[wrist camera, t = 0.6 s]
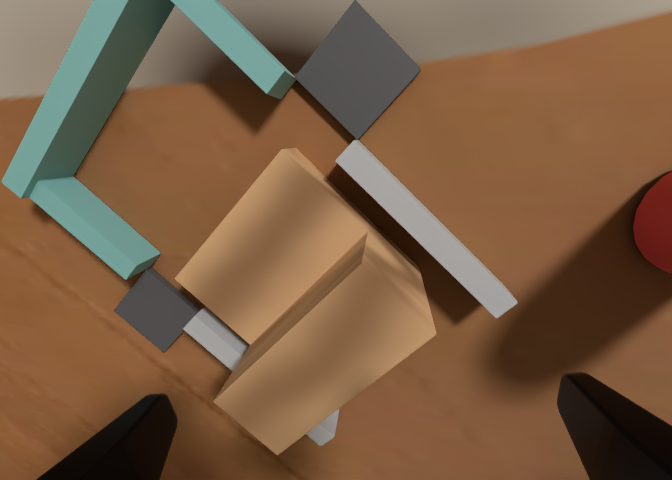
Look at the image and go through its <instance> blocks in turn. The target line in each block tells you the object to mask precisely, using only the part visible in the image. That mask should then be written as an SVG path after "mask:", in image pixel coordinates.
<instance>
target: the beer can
mask: <svg viewBox="0 0 672 480" xmlns="http://www.w3.org/2000/svg"><path fill="white" fill-rule="evenodd" d="M633 231H634V237H635V243H636V245H637V247H638V248H639V250H640V251H641V253H642V254H643V256H644V257H645V259H646V260H648V261H649V262H651V263H652V264H653V265H655V266H656V267H658V268H659V269H661V270H663V271H665V272H667V273H669V274H672V172H670V173H668V174H667V175H665V176H663V177H662V178H661V179H660V180H659V181H658V182H657V183H656V184H655V185H654V186H653V187H652V188H651V189H650V190H649V191H648V192H647V193H646V194H645V196H644V198H643V199H642V201H641V203H640V205H639V206H638V208H637V210H636V215H635V219H634V224H633Z"/></svg>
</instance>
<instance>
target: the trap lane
mask: <svg viewBox="0 0 672 480" xmlns="http://www.w3.org/2000/svg"><path fill="white" fill-rule="evenodd" d="M175 5H176V6H177V7H178V8H179V9H180V10H181V11H182V12H183V13H184V14H185V15H186V16H187V17H188V18H189V19H190V20H191V21H192V22H193V23H194V24H195V25H196V26H197V27H198V28H200V30H201V31H203V32H204V33H205V34H206V35H207V36H208V37H209V38H210V39H211V40H212V41H213V42H214V43H215V44H216V45H217V46H218V47H219V48H220V49H221V50H222V51H223V52H224V53H225V54H226V55H227V56H228V57H229V58H230V59H231V60H232V61H233V62H234V63H235V64H236V65H237V66H238V67H239V68H241V69H242V71H243V72H245V73H246V74H247V75H248V76H249V77H250V78H251V79H252V80H253V81H254V82H255V83H256V84H257V85H258V86H259V87H260V88H261V89H262V90H263V91H264V92H265V93H266V94H268V95H270V96H273V97H275V98H278V99H282V98H283V96H284V95H285V94H286V92H287V91H288V90H289V89H290V87H291V86H292V85H293V83H294V82H295V81H296V80H297V81H298V82H299V83H301V84H302V85H303V86H304V87H305V88H306V89H307V90H308V91H309V92H310V93H311V94H312V95H313V96H314V97H315V98H316V99H317V100H318V101H319V102H320V103H321V104H322V105H323V106H324V107H325V108H326V109H327V110H328V111H329V112H330V113H331V114H332V115H333V116H334V117H335V118H336V119H337V120H338V121H339V122H340V123H341V124H342V125H343V126H344V127H345V128H346V129H347V130H348V131H349V132H350V133H351V134H352V135H353V136H354V137H355V138H356V139H357V140H354V141H353V142H352V143H351V144H350V145H349V146H348V147H347V148H346V149H345V150H344V152H343V153H342V154H341V155H340V156H339V157H338V158H337V159H336V160H335V161H336V162H337V163H338V164H339V165H340V166H341V167H342V168H343V169H344V170H345V171H346V172H347V173H348V174H349V175H350V176H351V177H352V178H353V179H354V180H355V181H356V182H357V183H358V184H359V185H360V186H361V187H362V188H363V189H364V190H365V191H366V192H367V193H368V194H369V195H371V196H372V197H373V198H374V199H375V200H376V201H377V202H378V203H379V204H380V205H381V206H382V207H383V208H384V209H385V210H386V211H387V212H388V213H389V214H390V215H391V216H392V217H393V218H394V219H395V220H396V221H397V222H398V223H399V224H400V225H401V226H402V227H403V228H404V229H405V230H406V231H407V232H408V233H409V234H410V235H411V236H413V237H414V238H415V239H416V240H417V241H418V242H419V243H420V244H421V245H422V246H423V247H424V248H425V249H426V250H427V251H428V252H429V253H430V254H431V255H432V256H433V257H434V258H435V259H436V260H437V261H438V262H439V263H440V264H441V265H442V266H443V267H444V268H445V269H446V270H447V271H448V272H449V273H450V274H451V275H452V276H454V277H455V278H456V279H457V280H458V281H459V282H460V283H461V284H462V285H463V286H464V287H465V288H466V289H467V290H468V291H469V292H470V293H471V294H472V295H473V296H474V297H475V298H476V299H477V300H478V301H479V302H480V303H481V304H482V305H483V306H484V307H485V308H486V309H487V310H488V311H489V312H490V313H491V314H492V315H493V316H494V317H496V318H498V317H499V316H501V315H502V314H504V313H505V312H506V311H508V310H509V309H510V308H512V307H513V306H515V305H516V304H517V303H518V302H517V301H516V299H515V298H514V297H513V296H512V294H511V293H510V292H509V291H508V289H507V288H506V287H505V286H504V285H503V284H502V283H501V282H500V281H499V280H498V279H497V278H496V277H495V276H494V275H493V274H492V273H491V272H490V271H489V270H488V269H487V268H486V267H485V266H484V265H483V264H482V263H481V262H480V261H479V260H478V259H477V258H476V257H475V256H474V255H473V254H472V253H471V252H470V251H469V250H468V249H467V248H466V247H465V246H464V245H463V244H462V243H461V242H460V241H459V240H458V239H457V238H456V237H455V236H454V235H453V234H452V233H451V232H450V231H449V230H448V229H447V228H446V227H445V226H444V225H443V224H442V223H441V222H440V221H439V220H438V219H437V218H436V217H435V216H434V215H433V214H432V213H431V212H430V211H429V210H428V209H427V208H426V207H425V206H424V205H423V204H422V203H421V202H420V201H419V200H418V199H417V198H416V197H415V196H414V195H413V194H412V193H411V192H410V191H409V190H408V189H407V188H406V187H405V186H404V185H403V184H402V183H401V182H400V181H399V180H398V179H397V178H396V177H395V176H394V175H393V174H392V173H391V172H390V171H389V170H388V169H387V168H386V167H385V166H384V165H383V164H382V163H381V162H380V161H379V160H378V159H377V158H376V157H375V156H374V155H373V154H372V153H371V152H370V151H369V150H368V149H367V148H366V147H365V146H364V145H363V144H362V143H361V142H360V141H359V140H358V139H359V138H360V137H361V136H362V135H363V134H364V133H365V132H366V130H367V129H368V128H369V127H370V126H371V125H372V124H373V123H374V122H375V121H376V119H377V118H378V117H379V116H380V115H381V114H382V113H383V112H384V111H385V110H386V108H387V107H388V106H389V105H390V104H391V103H392V102H393V101H394V100H395V99H396V97H397V96H398V95H399V94H400V93H401V92H402V91H403V90H404V89H405V88H406V86H407V85H408V84H409V83H410V82H411V81H412V80H413V79H414V78H415V77H416V76H417V74H418V73H419V72H420V71H421V68H420V67H419V66H418V65H417V64H416V63H415V62H414V61H413V60H412V59H411V58H410V57H409V56H408V55H407V54H406V53H405V52H404V51H403V50H402V49H401V47H400V46H399V45H398V44H397V43H396V42H395V41H394V40H393V39H392V38H391V37H390V36H389V35H388V34H387V33H386V32H385V31H384V30H383V29H382V28H381V26H380V25H379V24H378V23H377V22H376V21H375V20H374V19H373V18H372V17H371V16H370V15H369V14H368V13H367V12H366V11H365V10H364V9H363V8H362V7H361V5H360V4H359V3H358V2H357V1H356V0H355V1H354V2H353V3H352V4H351V6H350V7H349V8H348V10H347V11H346V12H345V13H344V15H343V16H342V17H341V19H340V20H339V21H338V23H337V24H336V25H335V26H334V28H333V29H332V30H331V32H330V33H329V34H328V35H327V37H326V38H325V39H324V40H323V42H322V43H321V44H320V46H319V47H318V48H317V49H316V51H315V52H314V53H313V55H312V56H311V57H310V59H309V60H308V61H307V62H306V64H305V65H304V66H303V68H302V69H301V70H300V71H299V73H298V74H297V75H296V77H294V76H293V75H292V74H291V73H290V72H289V71H288V70H287V69H286V68H285V67H284V66H283V65H282V64H281V63H280V62H279V61H278V60H277V59H276V58H275V57H274V56H273V55H272V54H271V53H270V52H269V51H268V50H267V49H266V48H265V47H264V46H263V45H262V44H261V43H260V42H259V41H258V40H257V39H256V38H255V37H254V36H253V35H252V34H251V33H250V32H249V31H248V30H247V29H246V28H245V27H244V26H243V25H242V24H241V23H240V22H239V21H238V20H237V19H236V18H235V17H234V16H233V15H232V14H231V13H230V12H229V11H228V10H227V9H226V8H224V6H223V5H221V3H220V2H219V1H218V0H93V2H92V4H91V6H90V8H89V10H88V12H87V14H86V16H85V18H84V20H83V22H82V24H81V26H80V28H79V30H78V31H77V34H76V35H75V37H74V39H73V42H72V44H71V45H70V47H69V49H68V51H67V53H66V55H65V57H64V59H63V61H62V63H61V65H60V67H59V69H58V71H57V73H56V75H55V77H54V79H53V81H52V83H51V85H50V87H49V89H48V91H47V93H46V95H45V97H44V99H43V101H42V103H41V104H40V106H39V108H38V110H37V112H36V114H35V116H34V118H33V120H32V122H31V124H30V126H29V128H28V130H27V132H26V134H25V136H24V138H23V140H22V142H21V144H20V146H19V148H18V150H17V152H16V154H15V156H14V158H13V160H12V162H11V164H10V166H9V168H8V170H7V172H6V174H5V176H4V177H3V179H2V181H1V182H2V183H3V184H4V185H5V186H7V187H8V188H9V189H10V190H11V191H13V192H14V193H15V194H16V195H17V196H18V197H20V198H27V197H29V198H30V199H31V200H33V201H34V202H35V203H36V204H37V205H38V206H40V207H41V208H42V209H43V210H44V211H46V212H47V213H48V214H49V215H50V216H51V217H53V218H54V219H55V220H56V221H57V222H58V223H60V224H61V225H62V226H63V227H64V228H65V229H67V230H68V231H69V232H70V233H71V234H72V235H74V236H75V237H76V238H77V239H78V240H79V241H81V242H82V243H83V244H84V245H85V246H86V247H88V248H89V249H90V250H91V251H92V252H93V253H95V254H96V255H97V256H98V257H99V258H100V259H102V260H103V261H104V262H105V263H106V264H108V265H109V266H110V267H111V268H112V269H113V270H115V271H116V272H117V273H118V274H119V275H120V276H122V277H123V278H124V279H125V280H127V279H128V278H130V277H132V276H134V275H136V274H138V273H140V272H141V271H143V270H145V269H146V270H145V271H144V272H143V274H142V275H141V276H140V278H139V279H138V280H137V281H136V283H135V284H134V285H133V287H132V288H131V289H130V290H129V292H128V293H127V294H126V296H125V297H124V298H123V299H122V301H121V302H120V303H119V305H118V306H117V307H116V308H115V310H114V311H115V312H116V313H117V314H118V315H120V316H121V317H122V318H123V319H124V320H126V321H127V322H128V323H129V324H130V325H132V326H133V327H134V328H135V329H136V330H137V331H139V332H140V333H141V334H142V335H143V336H145V337H146V338H147V339H148V340H149V341H151V342H152V343H153V344H154V345H155V346H157V347H158V348H159V349H160V350H161V351H162V352H165V351H166V350H167V349H168V348H169V347H170V346H171V345H172V343H173V342H174V341H175V340H176V339H177V338H178V337H179V336H180V335H181V334H182V332H183V331H184V330H185V331H186V332H187V333H188V334H189V335H191V336H192V337H193V338H194V339H195V340H196V341H198V342H199V343H200V344H201V345H202V346H203V347H205V348H206V349H207V350H208V351H209V352H210V353H212V354H213V355H214V356H215V357H216V358H217V359H219V360H220V361H221V362H222V363H223V364H224V365H226V366H227V367H228V368H229V369H230V370H232V371H233V370H234V369H235V367H236V366H237V364H238V363H239V361H240V360H241V358H242V357H243V355H244V354H245V352H246V351H247V349H248V348H249V346H250V344H249V343H248V342H246V341H245V340H244V339H243V338H242V337H241V336H240V335H238V334H237V333H236V332H235V331H234V330H233V329H232V328H230V327H229V326H228V325H227V324H226V323H225V322H224V321H222V320H221V319H220V318H219V317H218V316H217V315H215V314H214V313H213V312H212V311H211V310H210V309H209V308H207V307H206V306H205V307H204V308H203V309H202V310H200V309H199V308H198V307H197V306H196V305H194V304H193V303H192V302H191V301H190V300H189V299H188V298H186V297H185V296H184V295H183V294H182V293H181V292H179V291H178V290H177V289H176V288H175V287H174V286H173V285H171V284H170V283H169V282H168V281H167V280H166V279H164V278H163V277H162V276H161V275H160V274H159V273H158V272H156V271H155V270H154V269H153V268H152V267H151V266H152V264H153V263H154V262H155V260H156V259H157V258H158V257H159V255H160V254H161V253H160V252H159V251H158V250H157V249H156V248H155V247H153V246H152V245H151V244H150V243H149V242H148V241H147V240H145V239H144V238H143V237H142V236H141V235H140V234H139V233H137V232H136V231H135V230H134V229H133V228H132V227H131V226H129V225H128V224H127V223H126V222H125V221H124V220H123V219H121V218H120V217H119V216H118V215H117V214H116V213H115V212H113V211H112V210H111V209H110V208H109V207H108V206H107V205H105V204H104V203H103V202H102V201H101V200H100V199H99V198H97V197H96V196H95V195H94V194H93V193H92V192H91V191H89V190H88V189H87V188H86V187H85V186H84V185H83V184H81V183H80V182H79V181H78V180H77V179H76V178H75V177H74V174H75V173H76V171H77V169H78V167H79V166H80V164H81V162H82V161H83V159H84V157H85V156H86V154H87V152H88V151H89V149H90V147H91V146H92V144H93V142H94V141H95V139H96V137H97V135H98V134H99V132H100V130H101V129H102V127H103V125H104V124H105V122H106V120H107V119H108V117H109V115H110V114H111V112H112V110H113V109H114V107H115V105H116V104H117V102H118V100H119V98H120V97H121V95H122V93H123V92H124V90H125V88H126V87H127V85H128V83H129V82H130V80H131V78H132V76H133V75H134V73H135V71H136V70H137V68H138V66H139V65H140V63H141V61H142V60H143V58H144V56H145V55H146V53H147V51H148V50H149V48H150V46H151V44H152V43H153V41H154V40H155V38H156V36H157V34H158V33H159V31H160V29H161V28H162V26H163V24H164V23H165V21H166V19H167V18H168V16H169V14H170V12H171V11H172V9H173V8H174V6H175ZM338 414H339V409H338V410H336V411H335V412H334V413H333V414H331V415H330V416H329V417H327V418H326V419H325V420H323V421H322V422H321V423H319V424H318V425H317V426H315V427H314V428H313V429H312V430H310V431H309V432H308V433H306V435H308V436H309V437H310V438H311V439H312V440H313V441H315V442H316V443H317V444H318V445H319V446H320V447H321V446H322V445H324V444H325V443H326V442H328V441H329V440H331V439H332V438H333V437H335V431H336V426H337V420H338Z"/></svg>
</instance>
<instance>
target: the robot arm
mask: <svg viewBox="0 0 672 480" xmlns="http://www.w3.org/2000/svg"><path fill="white" fill-rule="evenodd" d="M557 405H558V409H559V412H560V415H561V417H562V419H563V421H564V424H565V426H566V428H567V430H568V432H569V435H570V437H571V439H572V441H573V443H574V446H575V448H576V450H577V452H578V454H579V457H580V459H581V461H582V463H583V466H584V468H585V470H586V472H587V474H588V477H589V479H590V480H672V426H671V425H669V424H668V423H666V422H665V421H663V420H661V419H660V418H658V417H657V416H655V415H653V414H652V413H650V412H648V411H647V410H645V409H644V408H642V407H640V406H639V405H637V404H636V403H634V402H632V401H631V400H629V399H627V398H626V397H624V396H623V395H621V394H619V393H618V392H616V391H615V390H613V389H611V388H610V387H608V386H606V385H605V384H603V383H602V382H600V381H598V380H597V379H595V378H594V377H592V376H590V375H589V374H586V373H583V372H577V373H565V374H563V375H562V377H561V382H560V387H559V393H558V398H557ZM176 428H177V416H176V413H175V411H174V409H173V407H172V404H171V402H170V400H169V398H168V396H167V395H166V394H150V395H147V396H145V397H144V398H142V399H141V400H140V401H139V402H137V403H136V404H135V405H133V406H132V407H131V408H129V409H128V410H127V411H125V412H124V413H123V414H122V415H120V416H119V417H118V418H116V419H115V420H114V421H112V422H111V423H110V424H108V425H107V426H106V427H105V428H103V429H102V430H101V431H99V432H98V433H97V434H95V435H94V436H93V437H91V438H90V439H89V440H88V441H86V442H85V443H84V444H82V445H81V446H80V447H78V448H77V449H76V450H74V451H73V452H72V453H71V454H69V455H68V456H67V457H65V458H64V459H63V460H61V461H60V462H59V463H57V464H56V465H55V466H53V467H52V468H51V469H50V470H48V471H47V472H46V473H44V474H43V475H42V476H40V477H39V478H38V479H36V480H160V477H161V474H162V471H163V467H164V464H165V461H166V458H167V455H168V452H169V449H170V446H171V443H172V440H173V437H174V434H175V431H176Z"/></svg>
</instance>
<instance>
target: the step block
mask: <svg viewBox="0 0 672 480" xmlns="http://www.w3.org/2000/svg"><path fill="white" fill-rule="evenodd" d="M175 280H176V281H178V282H179V283H180V284H181V285H182V286H183V287H184V288H186V289H187V290H188V291H189V292H190V293H191V294H193V295H194V296H195V297H196V298H197V299H198V300H199V301H201V302H202V303H203V304H204V305H205V306H206V307H207V308H209V309H210V310H211V311H212V312H213V313H214V314H215V315H217V316H218V317H219V318H220V319H221V320H222V321H224V322H225V323H226V324H227V325H228V326H229V327H230V328H232V329H233V330H234V331H235V332H236V333H237V334H238V335H240V336H241V337H242V338H243V339H244V340H245V341H246V342H248V343H249V344H250V346H249V348H248V349H247V351H246V352H245V354H244V355H243V357H242V358H241V360H240V361H239V363H238V364H237V366H236V367H235V369H234V370H233V372H232V374H231V375H230V377H229V378H228V380H227V381H226V383H225V384H224V386H223V387H222V389H221V390H220V392H219V393H218V395H217V396H216V398H215V399H214V401H213V402H214V403H215V404H216V405H218V406H219V407H220V408H221V409H222V410H224V411H225V412H226V413H227V414H228V415H230V416H231V417H232V418H233V419H234V420H236V421H237V422H238V423H239V424H240V425H242V426H243V427H244V428H245V429H246V430H247V431H249V432H250V433H251V434H252V435H253V436H255V437H256V438H257V439H258V440H259V441H261V442H262V443H263V444H264V445H265V446H267V447H268V448H269V449H270V450H271V451H273V452H274V453H275V454H276V455H279V454H280V453H281V452H283V451H284V450H285V449H287V448H288V447H289V446H291V445H292V444H293V443H294V442H296V441H297V440H298V439H300V438H301V437H302V436H304V435H305V434H306V433H308V432H309V431H310V430H312V429H313V428H314V427H315V426H317V425H318V424H319V423H321V422H322V421H323V420H325V419H326V418H327V417H329V416H330V415H331V414H333V413H334V412H335V411H336V410H338V409H339V408H340V407H342V406H343V405H344V404H346V403H347V402H348V401H350V400H351V399H352V398H354V397H355V396H356V395H357V394H359V393H360V392H361V391H363V390H364V389H365V388H367V387H368V386H369V385H371V384H372V383H373V382H375V381H376V380H377V379H378V378H380V377H381V376H382V375H384V374H385V373H386V372H388V371H389V370H390V369H392V368H393V367H394V366H396V365H397V364H398V363H399V362H401V361H402V360H403V359H405V358H406V357H407V356H409V355H410V354H411V353H413V352H414V351H415V350H416V349H418V348H419V347H420V346H422V345H423V344H424V343H426V342H427V341H428V340H430V339H431V338H432V337H434V336H435V335H436V330H435V326H434V322H433V319H432V315H431V311H430V307H429V303H428V299H427V296H426V292H425V288H424V284H423V280H422V277H421V273H420V269H419V267H418V266H417V265H416V264H415V263H414V262H413V261H412V260H411V259H410V258H409V257H408V256H407V255H406V254H405V253H404V252H403V251H402V250H401V249H400V248H399V247H398V246H397V245H396V244H395V243H394V242H393V241H391V240H390V239H389V238H388V237H387V236H386V235H385V234H384V233H383V232H382V231H381V230H380V229H379V228H378V227H377V226H376V225H375V224H374V223H373V222H372V221H371V220H370V219H369V218H368V217H367V216H366V215H365V214H364V213H362V212H361V211H360V210H359V209H358V208H357V207H356V206H355V205H354V204H353V203H352V202H351V201H350V200H349V199H348V198H347V197H346V196H345V195H344V194H343V193H342V192H341V191H340V190H339V189H338V188H337V187H336V186H335V185H333V184H332V183H331V182H330V181H329V180H328V179H327V178H326V177H325V176H324V175H323V174H322V173H321V172H320V171H319V170H318V169H317V168H316V167H315V166H314V165H313V164H312V163H311V162H310V161H309V160H308V159H307V158H306V157H305V156H303V155H302V154H301V153H300V152H299V151H298V150H297V149H296V148H290V149H282V150H281V151H280V152H279V153H278V154H277V156H276V157H275V158H274V159H273V160H272V162H271V163H270V164H269V165H268V167H267V168H266V169H265V170H264V171H263V173H262V174H261V175H260V176H259V177H258V179H257V180H256V181H255V182H254V183H253V185H252V186H251V187H250V188H249V189H248V191H247V192H246V193H245V194H244V195H243V197H242V198H241V199H240V200H239V202H238V203H237V204H236V205H235V206H234V208H233V209H232V210H231V211H230V212H229V214H228V215H227V216H226V217H225V218H224V220H223V221H222V222H221V223H220V224H219V226H218V227H217V228H216V229H215V230H214V232H213V233H212V234H211V235H210V237H209V238H208V239H207V240H206V241H205V243H204V244H203V245H202V246H201V247H200V249H199V250H198V251H197V252H196V253H195V255H194V256H193V257H192V258H191V259H190V261H189V262H188V263H187V264H186V266H185V267H184V268H183V269H182V270H181V272H180V273H179V274H178V275H177V276H176V278H175Z"/></svg>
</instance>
